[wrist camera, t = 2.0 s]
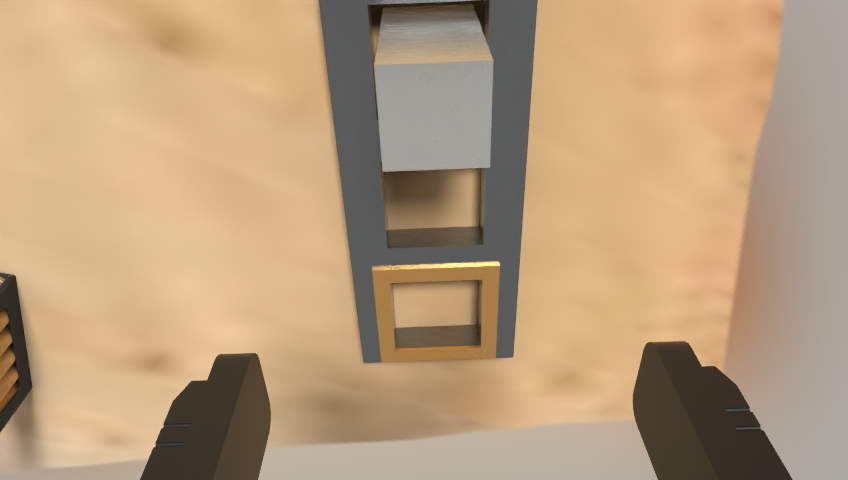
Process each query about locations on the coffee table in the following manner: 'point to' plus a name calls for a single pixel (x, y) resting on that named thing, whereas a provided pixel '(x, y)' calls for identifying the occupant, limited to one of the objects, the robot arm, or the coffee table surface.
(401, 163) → the grey metal block
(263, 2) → the coffee table surface
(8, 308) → the ammunition clip
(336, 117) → the grey peg board
